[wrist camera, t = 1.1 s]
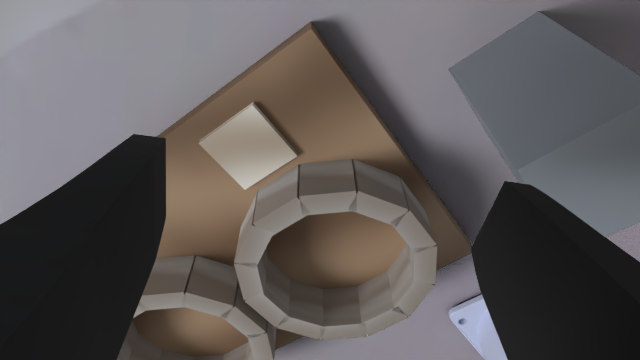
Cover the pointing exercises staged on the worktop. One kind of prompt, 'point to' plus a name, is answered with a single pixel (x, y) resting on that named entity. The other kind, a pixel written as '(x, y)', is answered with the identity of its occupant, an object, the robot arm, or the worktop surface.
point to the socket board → (287, 218)
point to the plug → (561, 118)
